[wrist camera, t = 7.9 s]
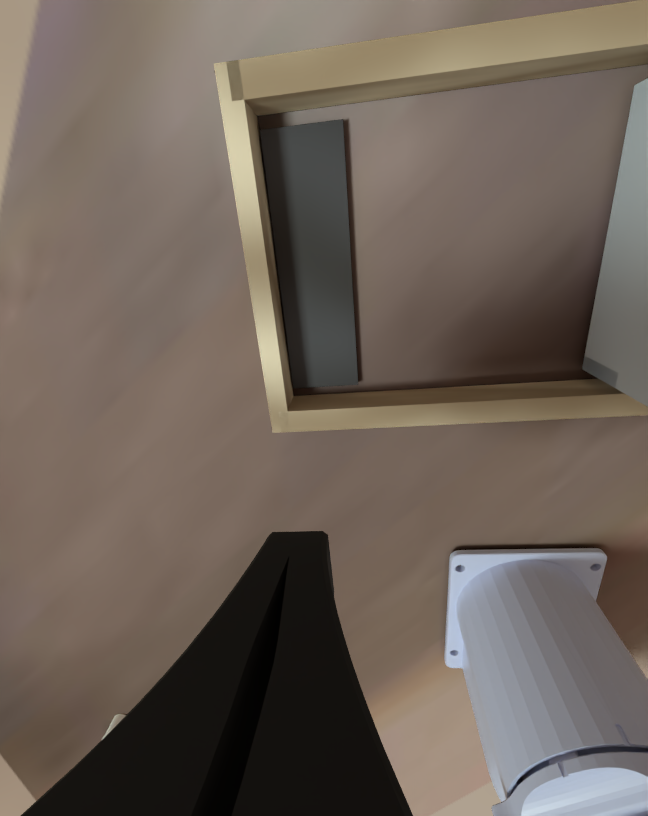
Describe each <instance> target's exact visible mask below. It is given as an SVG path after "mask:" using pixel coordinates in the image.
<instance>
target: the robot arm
mask: <svg viewBox="0 0 648 816" xmlns="http://www.w3.org/2000/svg"><path fill="white" fill-rule="evenodd" d="M606 562H607V556H606V554H605V553H604V552H603V551H602V550H601V549H599V548H564V549H497V550H457V551H454V552H452V553H451V555H450V561H449V580H448V598H447V617H446V636H445V655H444V659H445V663H446V665H447V666H448V667H450V668H463V672H464V676H465V680H466V684H467V688H468V692H469V696H470V700H471V704H472V708H473V712H474V716H475V720H476V723H477V727H478V731H479V735H480V739H481V743H482V747H483V751H484V755H485V759H486V763H487V767H488V771H489V774H490V777H491V780H492V783H493V786H494V788H495V790H496V792H497V795H498V796H499V798H500V800H501V803H498V804H496V805H493V806H492V812H493V816H648V679H647V678H646V676H645V675H644V673H643V672H642V670H641V669H640V667H639V666H638V664H637V663H636V661H635V660H634V658H633V657H632V655H631V654H630V652H629V651H628V649H627V648H626V646H625V645H624V643H623V642H622V640H621V639H620V637H619V636H618V634H617V633H616V631H615V630H614V628H613V627H612V625H611V624H610V622H609V621H608V619H607V618H606V616H605V615H604V613H603V612H602V610H601V609H600V607H599V606H598V604H597V603H596V599H597V595H598V592H599V588H600V584H601V580H602V577H603V573H604V569H605V565H606ZM593 564H594V565H593ZM458 565H462V566H459V567H457V566H458ZM21 816H413V815H412V812H411V810H410V808H409V805H408V803H407V801H406V798H405V796H404V794H403V791H402V789H401V787H400V785H399V782H398V780H397V778H396V775H395V773H394V771H393V768H392V766H391V764H390V761H389V759H388V757H387V754H386V752H385V750H384V747H383V745H382V742H381V740H380V737H379V735H378V732H377V729H376V727H375V724H374V722H373V719H372V717H371V714H370V711H369V709H368V706H367V703H366V701H365V698H364V695H363V692H362V690H361V687H360V684H359V681H358V678H357V676H356V673H355V670H354V667H353V664H352V661H351V658H350V654H349V651H348V648H347V645H346V641H345V638H344V635H343V631H342V628H341V624H340V621H339V617H338V613H337V609H336V604H335V600H334V587H333V578H332V569H331V560H330V550H329V541H328V535H327V534H326V533H325V532H323V531H307V532H272V533H271V534H270V535H269V536H268V538H267V539H266V541H265V543H264V544H263V546H262V547H261V549H260V550H259V552H258V553H257V555H256V556H255V558H254V560H253V561H252V562H251V564H250V565H249V567H248V568H247V570H246V571H245V573H244V574H243V576H242V577H241V579H240V580H239V581H238V583H237V584H236V586H235V587H234V588H233V590H232V591H231V592H230V594H229V595H228V597H227V598H226V599H225V601H224V602H223V603H222V605H221V606H220V607H219V609H218V610H217V611H216V613H215V614H214V615H213V617H212V618H211V619H210V620H209V622H208V623H207V624H206V625H205V627H204V628H203V629H202V630H201V632H200V633H199V634H198V635H197V637H196V638H195V639H194V640H193V642H192V643H191V644H190V645H189V647H188V648H187V649H186V650H185V651H184V653H183V654H182V655H181V656H180V657H179V658H178V660H177V661H176V662H175V663H174V664H173V665H172V667H171V668H170V669H169V670H168V671H167V672H166V673H165V675H164V676H163V677H162V678H161V679H160V680H159V681H158V682H157V683H156V684H155V686H154V687H153V688H152V689H151V690H150V691H149V692H148V693H147V694H146V695H145V696H144V698H143V699H142V700H141V701H140V702H139V703H138V704H137V705H136V706H135V707H134V708H133V709H132V710H131V711H130V712H129V713H128V714H127V715H126V716H125V717H124V718H123V719H122V720H121V721H120V722H119V723H118V724H117V725H116V726H115V727H114V728H113V729H112V730H111V731H110V732H109V733H108V734H107V736H106V737H105V738H104V739H103V740H102V741H100V742H99V743H98V744H97V745H96V746H95V747H94V748H93V749H92V750H91V751H90V752H89V753H88V754H87V755H86V756H85V757H84V758H83V759H82V760H81V761H80V762H79V763H78V764H77V765H76V766H75V767H74V768H72V769H71V770H70V771H69V772H68V773H67V774H66V775H65V776H64V777H63V778H61V779H60V780H59V781H58V782H57V783H56V784H55V785H54V786H53V787H52V788H50V789H49V790H48V791H47V792H46V793H45V794H44V795H43V796H42V797H41V798H39V799H38V800H37V801H36V802H35V803H34V804H33V805H32V806H31V807H30V808H29V809H27V810H26V811H25V812H24V813H23V814H22V815H21Z"/></svg>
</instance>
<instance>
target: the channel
mask: <svg viewBox="0 0 648 816" xmlns="http://www.w3.org/2000/svg"><path fill="white" fill-rule="evenodd" d="M644 64H648V0H638V1H631V2H625V3H618V4H611V5H605V6H598V7H591V8H584V9H578V10H571V11H564V12H558V13H551V14H544V15H538V16H531V17H524V18H517V19H511V20H504V21H497V22H491V23H484V24H477V25H470V26H464V27H457V28H450V29H444V30H437V31H430V32H424V33H417V34H410V35H403V36H397V37H390V38H383V39H377V40H370V41H363V42H357V43H350V44H343V45H336V46H330V47H323V48H316V49H310V50H303V51H296V52H289V53H283V54H276V55H269V56H263V57H256V58H249V59H243V60H236V61H229V62H222V63H216V64H214V68H215V74H216V81H217V87H218V93H219V99H220V106H221V112H222V118H223V125H224V131H225V137H226V143H227V150H228V156H229V162H230V168H231V175H232V181H233V187H234V193H235V200H236V206H237V212H238V218H239V225H240V231H241V237H242V243H243V250H244V256H245V262H246V268H247V275H248V281H249V287H250V294H251V300H252V306H253V312H254V319H255V325H256V331H257V337H258V344H259V350H260V356H261V362H262V369H263V375H264V381H265V387H266V394H267V400H268V406H269V412H270V419H271V425H272V431H273V433H279V432H300V431H321V430H343V429H364V428H385V427H406V426H427V425H448V424H470V423H491V422H512V421H533V420H554V419H575V418H596V417H618V416H639V415H648V407H647V406H645V405H644V404H642V403H640V402H639V401H637V400H635V399H633V398H632V397H630V396H628V395H626V394H625V393H623V392H621V391H619V390H618V389H616V388H614V387H612V386H611V385H609V384H607V383H605V382H604V381H602V380H600V379H584V380H566V381H549V382H531V383H514V384H496V385H478V386H461V387H443V388H426V389H408V390H390V391H373V392H355V393H338V394H320V395H303V396H293V388H308V387H325V386H342V385H358V373H357V355H356V338H355V321H354V303H353V286H352V268H351V251H350V234H349V216H348V199H347V181H346V164H345V147H344V129H343V119H342V120H334V121H326V122H318V123H311V124H303V125H295V126H288V127H280V128H272V129H264V130H260V134H261V141H262V149H263V157H264V165H265V172H266V180H267V188H268V196H269V203H270V211H271V219H272V227H273V234H274V242H275V250H276V258H277V265H278V273H279V281H280V288H279V281H278V273H277V265H276V258H275V250H274V242H273V235H272V227H271V219H270V212H269V204H268V196H267V189H266V181H265V173H264V165H263V158H262V150H261V142H260V135H259V127H258V119H257V116H261V115H269V114H276V113H284V112H291V111H299V110H306V109H314V108H321V107H329V106H336V105H344V104H351V103H359V102H366V101H374V100H381V99H389V98H396V97H404V96H411V95H419V94H426V93H434V92H441V91H449V90H456V89H464V88H471V87H479V86H486V85H494V84H501V83H509V82H516V81H524V80H531V79H539V78H546V77H554V76H561V75H569V74H576V73H584V72H591V71H599V70H606V69H614V68H621V67H629V66H636V65H644ZM280 289H281V296H282V304H283V311H282V304H281V296H280ZM283 312H284V319H285V327H286V335H287V342H286V335H285V327H284V319H283ZM287 343H288V350H289V358H290V365H289V358H288V350H287ZM290 366H291V373H290ZM291 374H292V381H293V388H292V381H291Z"/></svg>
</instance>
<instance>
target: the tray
mask: <svg viewBox="0 0 648 816" xmlns="http://www.w3.org/2000/svg"><path fill="white" fill-rule="evenodd" d="M582 369H583V370H584V371H586V372H588V373H590V374H591V375H593V376H595V377H597V378H598V379H600V380H602V381H604V382H605V383H607V384H609V385H611V386H612V387H614V388H616V389H618V390H619V391H621V392H623V393H625V394H626V395H628V396H630V397H632V398H633V399H635V400H637V401H639V402H640V403H642V404H644V405H645V406H647V407H648V78H647V79H645V80H643V81H642V82H640V83H638V84H636V85H635V86H634V91H633V97H632V102H631V108H630V113H629V118H628V124H627V129H626V135H625V140H624V145H623V151H622V156H621V162H620V167H619V172H618V178H617V183H616V189H615V194H614V199H613V205H612V210H611V215H610V221H609V226H608V232H607V237H606V242H605V248H604V253H603V259H602V264H601V269H600V275H599V280H598V286H597V291H596V296H595V302H594V307H593V313H592V318H591V323H590V329H589V334H588V340H587V345H586V350H585V356H584V361H583V367H582Z"/></svg>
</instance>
